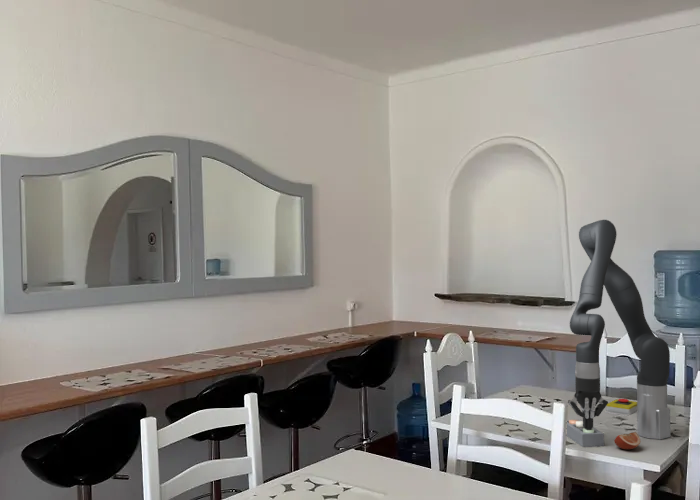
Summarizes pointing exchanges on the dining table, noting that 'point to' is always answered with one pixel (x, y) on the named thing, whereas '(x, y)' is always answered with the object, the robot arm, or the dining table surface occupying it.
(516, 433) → the dining table surface
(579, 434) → the console
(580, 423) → the cream button
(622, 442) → the fruit slice
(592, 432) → the sage button
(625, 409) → the emergency button
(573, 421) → the terracotta button
